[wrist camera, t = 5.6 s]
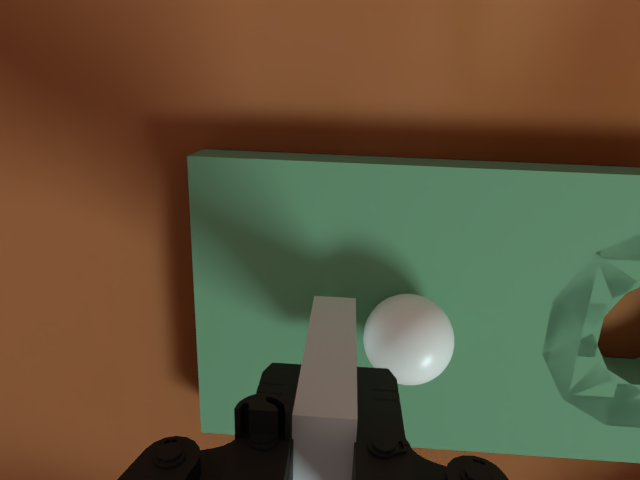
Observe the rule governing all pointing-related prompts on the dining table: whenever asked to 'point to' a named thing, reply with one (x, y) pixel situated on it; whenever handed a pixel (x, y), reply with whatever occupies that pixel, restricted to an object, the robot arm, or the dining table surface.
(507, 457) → the dining table surface
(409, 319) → the ball
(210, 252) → the mat
